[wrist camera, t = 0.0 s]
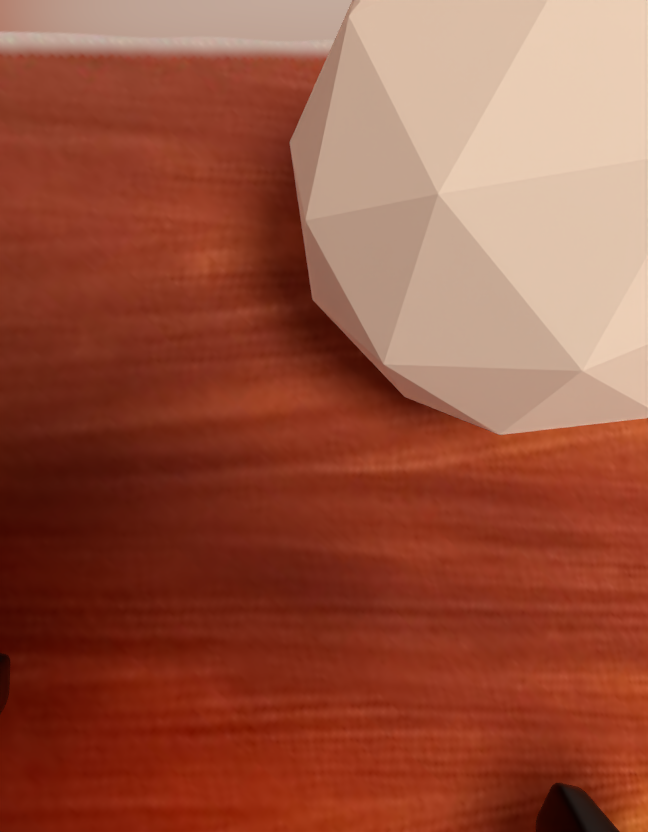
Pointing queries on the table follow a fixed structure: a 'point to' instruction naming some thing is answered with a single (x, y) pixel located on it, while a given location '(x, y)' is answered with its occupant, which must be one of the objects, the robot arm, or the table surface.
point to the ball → (486, 204)
